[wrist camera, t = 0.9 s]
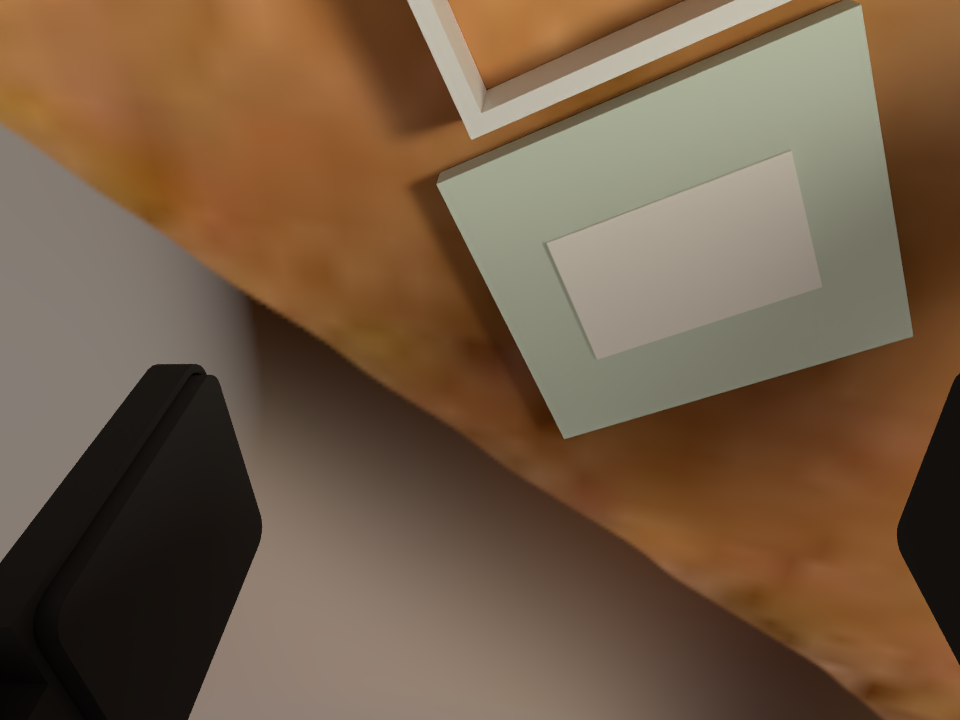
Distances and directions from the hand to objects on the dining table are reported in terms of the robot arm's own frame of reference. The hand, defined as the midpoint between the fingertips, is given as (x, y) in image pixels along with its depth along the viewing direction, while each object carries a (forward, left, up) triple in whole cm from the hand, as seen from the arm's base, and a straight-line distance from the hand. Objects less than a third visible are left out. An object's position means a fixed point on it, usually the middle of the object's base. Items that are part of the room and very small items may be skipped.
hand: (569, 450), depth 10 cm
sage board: (-2, +11, -25) cm, 28 cm away
